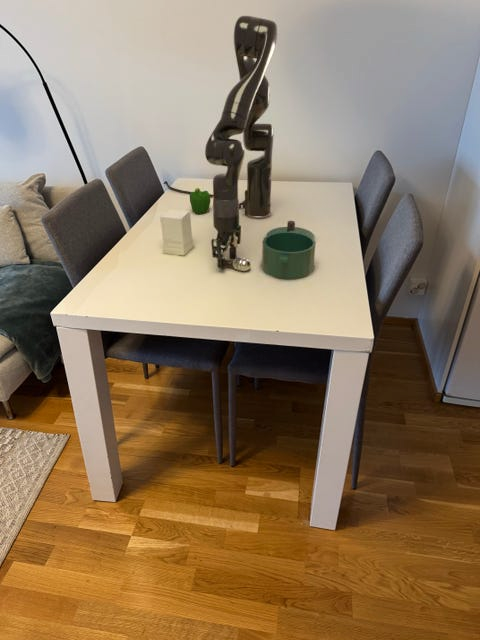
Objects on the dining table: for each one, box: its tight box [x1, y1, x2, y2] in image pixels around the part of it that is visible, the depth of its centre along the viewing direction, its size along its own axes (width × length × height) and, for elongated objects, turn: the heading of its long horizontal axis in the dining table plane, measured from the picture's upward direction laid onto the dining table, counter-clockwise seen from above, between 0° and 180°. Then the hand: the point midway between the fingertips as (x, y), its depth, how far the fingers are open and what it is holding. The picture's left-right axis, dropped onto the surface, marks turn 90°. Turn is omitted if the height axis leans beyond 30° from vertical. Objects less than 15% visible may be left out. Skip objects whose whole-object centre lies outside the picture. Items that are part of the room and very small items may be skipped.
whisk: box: [225, 256, 251, 272], centre depth 136 cm, size 10×4×4 cm, turn 62°
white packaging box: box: [159, 208, 194, 256], centre depth 145 cm, size 7×7×13 cm
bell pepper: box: [189, 187, 211, 215], centre depth 176 cm, size 8×8×10 cm
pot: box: [261, 231, 317, 280], centre depth 135 cm, size 16×21×8 cm
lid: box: [266, 220, 315, 240], centre depth 155 cm, size 17×17×6 cm
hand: (227, 263), depth 138 cm, fingers open, 6 cm apart
